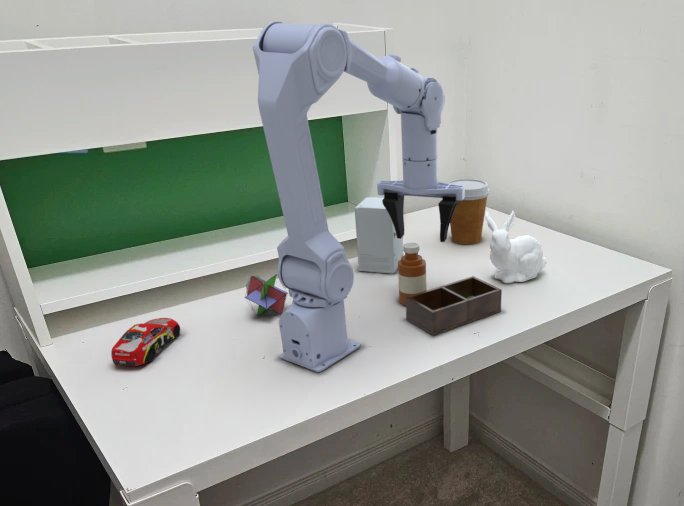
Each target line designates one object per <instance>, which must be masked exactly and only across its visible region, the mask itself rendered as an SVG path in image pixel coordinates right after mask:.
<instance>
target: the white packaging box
mask: <svg viewBox="0 0 684 506" xmlns="http://www.w3.org/2000/svg"><path fill="white" fill-rule="evenodd" d="M383 199H384V197H373V196H372V197H371V196H367V197H365V198H364V199H362V200H361V201H360V202H359V203H358V204H357V205H356V206H355V207H354V221H355V233H356V235H355V236H356V245H357V246H356V249H357V261H358V262H357V263H358V271H360V272H370V273H379V274H380V273H381V274H392V275H393V274H395V273H396V271H397V270H398V261H399V260H401V257H402V256H404V251H403V245H404V236H403V237H402V238H401V239H399V238H397V235H396V231H395V228H394V225H393V222H392V220H391V217H390V215H389V213H388V212H387V210H386V208H385V207H384V205H383V202H382V200H383Z"/></svg>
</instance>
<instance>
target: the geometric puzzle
mask: <svg viewBox="0 0 684 506" xmlns="http://www.w3.org/2000/svg"><path fill="white" fill-rule="evenodd" d="M270 275H273V274H270ZM259 276H260V275H250V278H249V279H248V280H247V283H246V284H245V287H246V288H245V289H246V294H245V296H244V298H243V299H245V300H247V301H249V302H247V303H248V305H250V307H251V309H252V311H253V313H255V309H254V308H253V305H252V303H254V304H256V305H258V307H257V312H256V315H255V317H256V318H257V317H259V316H260V315H261V314H262V313H264V312H266V311H267V310H268V311H270V312H273V313H274V312H275V315H276V316H277V315H282V314H283V313H284V308H285V304H286V300H287V296H288V295H289V292H288V291H286V290H284V289H286V288H285V287H284V286H283V285H282V284H281V286H282V288H283V289H281V288H279V287H277V286H276V280H277V277H278V273H275V274H274V275H273V276H272V277H270V278H269V279H267V280H264V279H263V278H261V277H259ZM278 279H279V277H278ZM251 302H252V303H251ZM249 303H250V304H249ZM265 316H266V317H267V315H265V314H264V315H263V317H265Z"/></svg>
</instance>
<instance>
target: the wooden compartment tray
mask: <svg viewBox="0 0 684 506" xmlns="http://www.w3.org/2000/svg"><path fill="white" fill-rule="evenodd" d="M502 293H503V290H502V289H501V288H499V287H497V286H495V285H493V284H491V283H488V282H487V281H485V280H483V279H480V278H478V277H476V276H475V275H472V276H469V277H466V278H462V279H459V280H456V281H452V282H449V283H446V284H443V285H440V286H436V287H434V288H430V289H426V291H423V292H420V293H417V294H414V295H411V296H408V297H406V306H405V316H406V319H405V320H406V321H408V322H409V323H411V324H413V325H415V326H416V327H418V328H419V329H420V330H423V331H424V332H426V333H428V334H429V335H431V336H433V337H435V336H438V335H440V334H442V333H446V332H448V331H451V330H454V329H457V328H459V327H463V326H465V325H467V324H470V323H473V322H476V321H480V320H481V319H485V318H488V317H489V316H492V315H496V314H498V313H501V311H502Z"/></svg>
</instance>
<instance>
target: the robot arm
mask: <svg viewBox="0 0 684 506" xmlns="http://www.w3.org/2000/svg"><path fill="white" fill-rule="evenodd" d="M252 50H253V56H254V60H255V65H256V69H257V73H258V85H257V86H258V87H257V106H258V110H259V115H260V119H261V124H262V129H263V133H264V136H265V142H266V145H267V150H268V155H269V159H270V163H271V167H272V172H273V176H274V180H275V185H276V189H277V194H278V197H279V203H280V207H281V210H282V211H281V212H282V215H283V220H284V224H285V229H286V233H287V236H286V237H284V238H283V240H282V241H281V242H280V243H279V244H278V245H277V247H276V250H277V254H278V264H277V275H278V276H277V277H279V278H278V281H279V282H280V284H281V286H282V285H283V286H282V287H285V288H284V289H287V290H288V296H289V298H292V302H291V304H290V305H289V306H288V308H287V309H286V310H285V311H283V312H282V314H280V317H279V320H278V325H279V333H280V339H281V346H282V353H281V354H279V357H280V359H282V360H284V361H287V362H290V363H292V364H295V365H298V366H300V367H303V368H305V369H308V370H311V371H313V372H317V373H320V372H322V371H324V370H326V369H327V368H329V367H330V366H332V365H334V364H336V363H338V362H339V361H341V360H342V359H343V358H345V357H346V356H348V355H349V354H351V353H353V352H354V351H356V350H357V349H359V348H360V347H361V343H360V342H357V341H355V340H351V339H348V332H347V331H348V330H347V320H346V319H347V318H346V309H345V299H347V298H348V296H349V294H350V292H351V290H352V288H353V285H354V279H355V274H354V268H353V266H352V264H351V263H350V261H349V260H348V258H347V255H346V250H345V247H344V245H342V243H341V242H340V241H339V240H338V239H337V238H336V237H335V236H334V235H333V234H332V233H331V232H330V231H329V225H328V221H327V220H328V219H327V214H326V210H325V209H326V208H325V204H324V199H323V193H322V189H321V183H320V178H319V172H318V167H317V161H316V156H315V151H314V145H313V141H312V136H311V130H310V125H309V124H310V123H309V119H308V112H309V110H310V109H311V107H312V105H314V104H316V103H318V102H319V100H321V98H322V97H323V96H324V95H325V94H326V93H328V91H329V90H330V89H331V88H332V87H333V86H334V85H335V84H336V83H337V82H338V80H339V79H340V78H341V76H342V75H343V74H344V73H346V74H348V75H351V76H352V77H355V78H357V79H359V80H361V81H364V82H366V85H367V88H368V90H369V92H370V94H371V95H373V96H374V97H376V98H377V99H379V100H382V101H384V102H385V103H387V104H389V105H391V106H392V108H393V110H394V112H395V113H396V114H397V115H400V128H401V129H400V131H401V155H402V156H401V157H402V158H401V159H402V178H403V179H402V180H380V181H379V182H378V183H376V188H377V196H383V198H384V199H383V200H382V202H383V205H384V207H385V208H386V210H387V212H388V213H389V215H390V217H391V220H392V222H393V225H394V228H395V231H396V235H397V238H399V239H401V238H402V237H403V238H404V236H405V220H404V219H405V218H404V207H405V197H417V198H418V197H419V198H420V197H421V198H433V199H434V198H435V199H441V200H440V201H439V202H438V203H437V205H438V213H439V224H440V225H439V241H440V243H445V242H446V240H447V239H448V232H449V229H450V221H451V218H452V215H453V212H454V210H455V208H456V205H457V203H458V201H459V200H460V201H462V200H463V199H464V197H465V186H460V185H453V184H447V182H440V181H439V171H438V170H439V167H438V166H439V163H438V162H439V157H438V156H439V154H438V151H439V150H438V129H439V128H440V127H441V123H442V114H443V110H444V107H445V101H446V95H444V89H443V87H442V85H441V83H440V82H438V81H437V79H435V78H434V77H426V76H422V75H421V74H419V70H418V69H417V68H415V67H408V66H407V65H405V64H404V63H402V58H401V57H400V56H399V55H397V54H388V55H383V56H380V57H377V56H375V55H374V54H372V53H371V52H370V51H369V50H368V49H365V48H364V47H362V46H361V45H360V44H358V43H357V42H356V41H355V40H353V39H351V38H350V37H349V34H348V32H347V31H346V30H343V29H339V28H338V27H336V26H335V25H334V24H331V23H320V24H312V23H311V24H310V23H309V24H308V23H289V22H282V21H274V20H273V21H271V22H269V23H268V22H267V24H265V26H264V27H263V28H262V30H261V31H260V33H259V35H258V37H257V39H256V40H255V42H254V44H253V46H252Z"/></svg>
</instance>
